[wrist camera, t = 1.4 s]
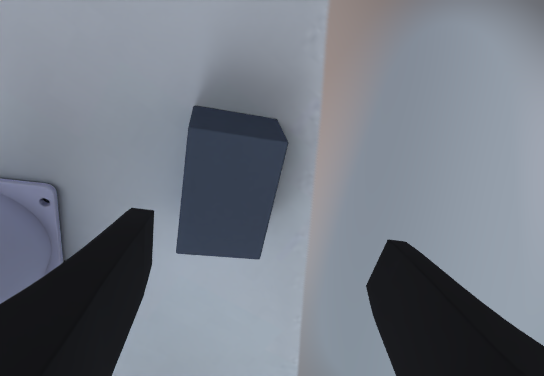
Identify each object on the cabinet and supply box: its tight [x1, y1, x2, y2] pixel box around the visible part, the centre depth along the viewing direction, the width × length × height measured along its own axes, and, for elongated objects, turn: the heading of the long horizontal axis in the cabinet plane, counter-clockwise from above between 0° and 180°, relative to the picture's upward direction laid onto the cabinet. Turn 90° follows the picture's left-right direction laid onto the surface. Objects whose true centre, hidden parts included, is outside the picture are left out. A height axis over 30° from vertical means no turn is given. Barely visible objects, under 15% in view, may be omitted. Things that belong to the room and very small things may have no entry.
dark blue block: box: [176, 106, 288, 259], centre depth 18 cm, size 7×4×4 cm, turn 168°
